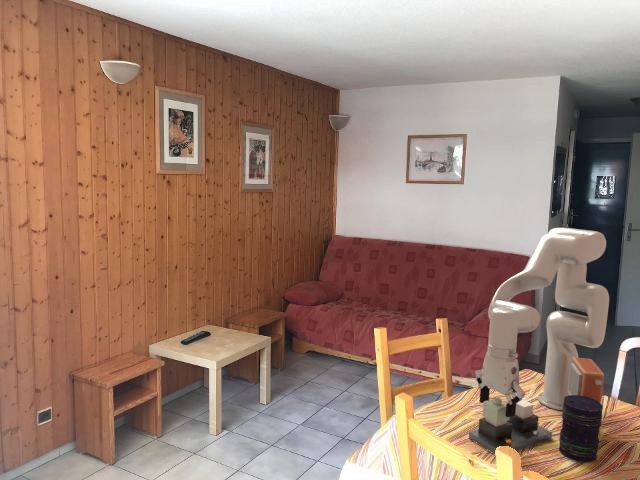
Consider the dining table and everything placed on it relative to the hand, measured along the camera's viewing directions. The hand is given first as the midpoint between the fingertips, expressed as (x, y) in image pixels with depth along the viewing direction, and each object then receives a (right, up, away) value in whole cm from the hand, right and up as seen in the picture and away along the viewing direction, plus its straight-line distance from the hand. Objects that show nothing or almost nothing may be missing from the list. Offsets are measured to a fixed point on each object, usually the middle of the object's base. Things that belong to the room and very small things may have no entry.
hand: (496, 408), depth 152 cm
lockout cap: (0, -3, 0) cm, 3 cm away
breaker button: (+9, -5, +6) cm, 12 cm away
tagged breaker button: (0, -8, +1) cm, 8 cm away
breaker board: (+5, -10, +3) cm, 11 cm away
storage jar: (+21, -11, -4) cm, 24 cm away
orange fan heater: (+28, -10, +8) cm, 30 cm away
